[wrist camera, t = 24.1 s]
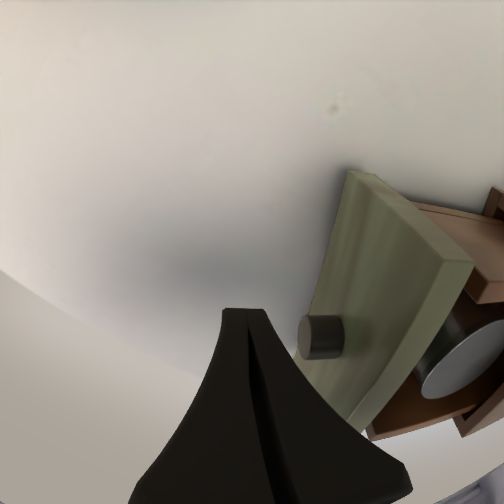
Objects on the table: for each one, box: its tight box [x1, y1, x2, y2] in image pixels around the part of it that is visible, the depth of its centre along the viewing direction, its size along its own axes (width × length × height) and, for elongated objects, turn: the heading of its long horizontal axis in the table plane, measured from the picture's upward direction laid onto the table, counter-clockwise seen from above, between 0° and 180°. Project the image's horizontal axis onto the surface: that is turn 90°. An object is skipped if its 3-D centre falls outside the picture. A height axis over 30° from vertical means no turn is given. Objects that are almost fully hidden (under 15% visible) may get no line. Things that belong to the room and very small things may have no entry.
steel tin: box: [412, 288, 504, 399], centre depth 11 cm, size 5×5×4 cm
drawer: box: [293, 170, 504, 442], centre depth 11 cm, size 15×10×6 cm
